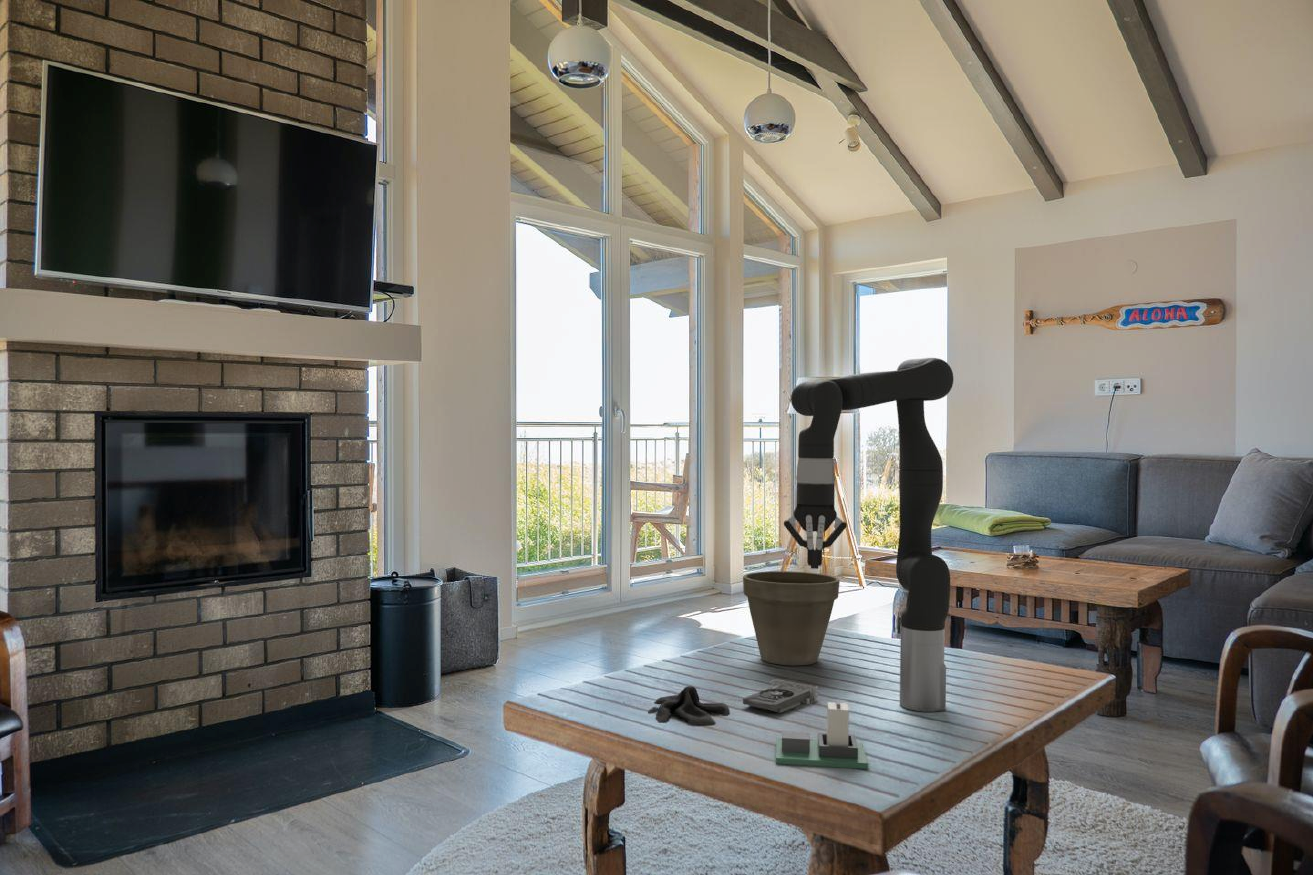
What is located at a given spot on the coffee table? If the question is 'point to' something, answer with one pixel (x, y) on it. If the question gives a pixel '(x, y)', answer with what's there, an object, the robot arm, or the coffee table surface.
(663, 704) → the cloth
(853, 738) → the header board
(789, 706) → the graphics card
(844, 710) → the plug
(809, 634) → the plant pot
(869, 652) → the coffee table surface
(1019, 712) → the coffee table surface
